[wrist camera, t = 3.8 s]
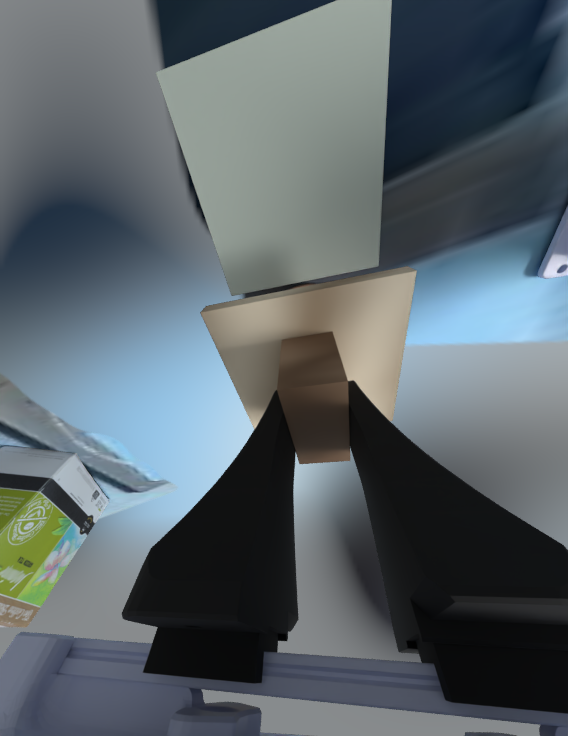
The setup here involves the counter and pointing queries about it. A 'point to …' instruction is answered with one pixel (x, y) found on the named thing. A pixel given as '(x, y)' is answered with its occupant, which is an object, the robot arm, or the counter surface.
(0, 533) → the tea box
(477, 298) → the counter surface
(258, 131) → the mat
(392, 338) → the lid
